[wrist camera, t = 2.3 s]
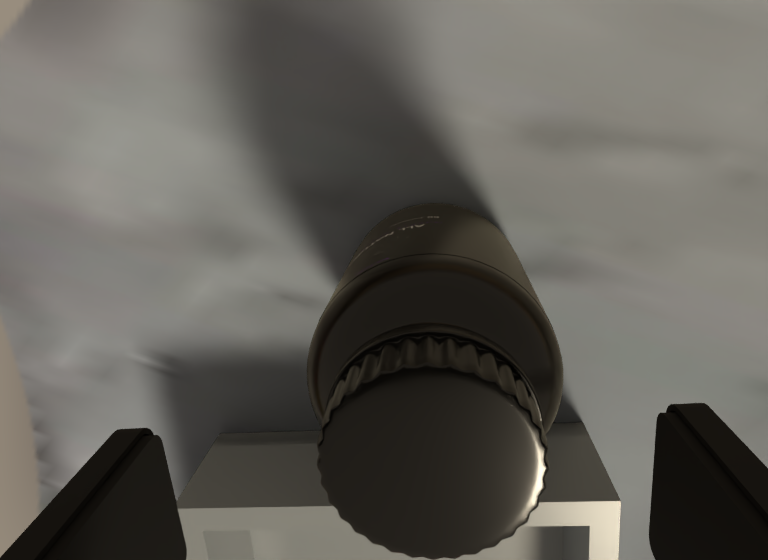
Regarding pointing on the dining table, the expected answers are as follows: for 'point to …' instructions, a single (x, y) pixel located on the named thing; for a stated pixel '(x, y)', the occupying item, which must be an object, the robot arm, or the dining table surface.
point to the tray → (337, 538)
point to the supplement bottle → (434, 386)
